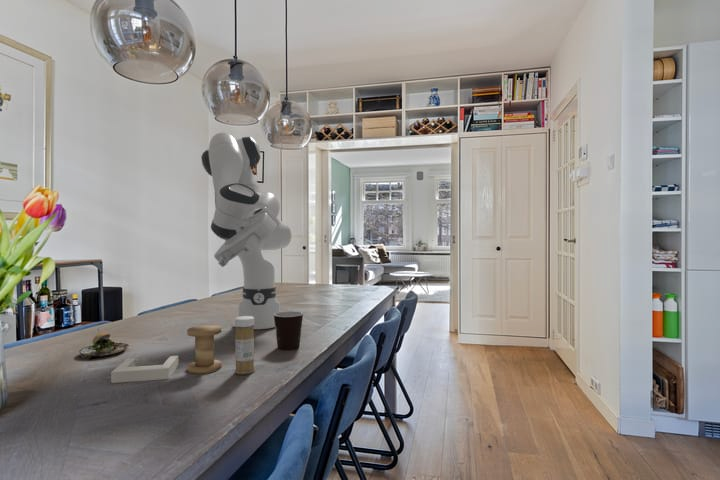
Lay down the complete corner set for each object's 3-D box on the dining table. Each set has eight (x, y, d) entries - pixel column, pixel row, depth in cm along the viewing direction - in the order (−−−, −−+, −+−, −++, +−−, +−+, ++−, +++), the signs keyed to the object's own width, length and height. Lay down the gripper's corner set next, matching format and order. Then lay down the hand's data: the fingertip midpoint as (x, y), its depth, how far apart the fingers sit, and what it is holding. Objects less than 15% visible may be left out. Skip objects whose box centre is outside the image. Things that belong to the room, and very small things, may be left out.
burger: (85, 363, 104) (85, 335, 104) (73, 354, 112) (73, 328, 112) (135, 353, 113) (135, 327, 113) (120, 346, 121) (120, 321, 121)
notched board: (127, 368, 99) (127, 358, 99) (178, 365, 102) (178, 355, 102) (111, 383, 89) (111, 372, 89) (168, 378, 92) (168, 368, 92)
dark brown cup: (297, 352, 113) (297, 317, 113) (269, 350, 115) (268, 316, 115) (310, 341, 125) (310, 310, 124) (284, 340, 126) (284, 309, 126)
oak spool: (190, 364, 102) (190, 325, 102) (223, 362, 104) (223, 324, 104) (184, 375, 95) (184, 333, 94) (219, 372, 96) (219, 331, 96)
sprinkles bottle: (253, 368, 100) (253, 314, 99) (255, 374, 95) (255, 318, 95) (234, 370, 98) (234, 316, 98) (235, 376, 94) (235, 319, 94)
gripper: (221, 236, 117) (199, 264, 105) (269, 203, 108) (251, 230, 97) (236, 251, 119) (216, 280, 108) (284, 220, 111) (269, 248, 99)
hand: (233, 256), depth 102 cm, fingers open, 8 cm apart
